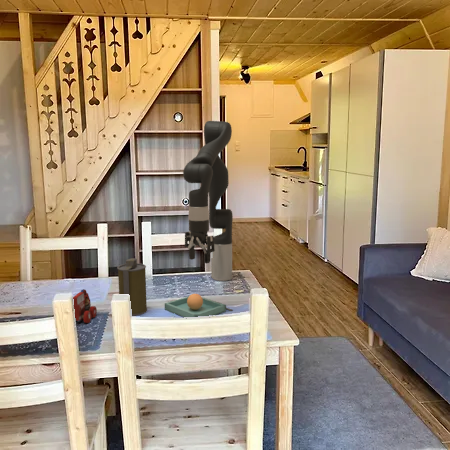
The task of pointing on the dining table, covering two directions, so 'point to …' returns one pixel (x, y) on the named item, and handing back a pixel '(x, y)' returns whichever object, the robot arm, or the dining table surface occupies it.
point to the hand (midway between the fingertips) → (199, 261)
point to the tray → (205, 310)
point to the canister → (133, 284)
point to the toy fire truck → (83, 307)
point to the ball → (194, 301)
